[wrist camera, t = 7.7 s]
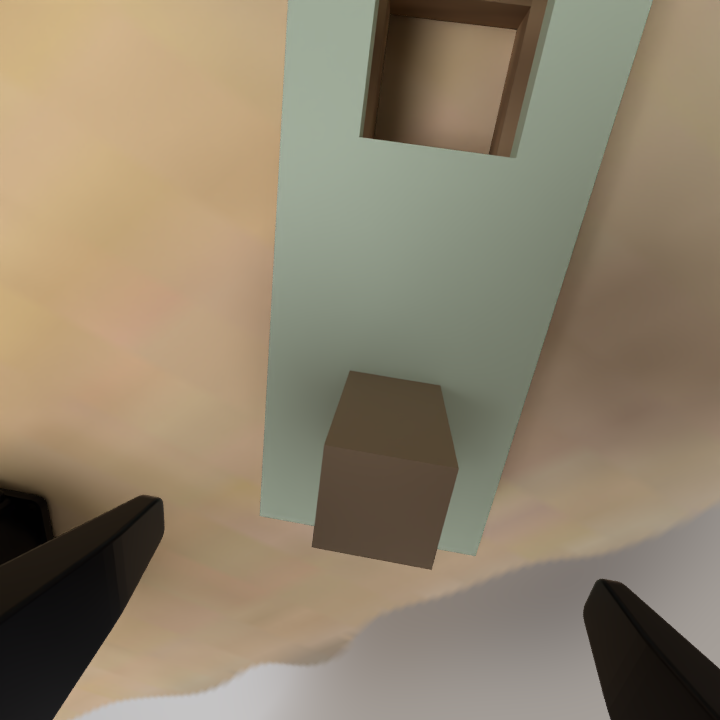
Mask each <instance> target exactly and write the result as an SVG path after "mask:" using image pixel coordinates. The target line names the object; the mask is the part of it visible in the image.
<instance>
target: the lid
mask: <svg viewBox="0 0 720 720" xmlns="http://www.w3.org/2000/svg"><path fill="white" fill-rule="evenodd" d="M652 1H653V0H548V2H547V6H546V10H545V14H544V18H543V22H542V26H541V30H540V35H539V39H538V43H537V47H536V51H535V55H534V59H533V63H532V67H531V72H530V76H529V80H528V84H527V88H526V92H525V96H524V100H523V104H522V109H521V113H520V117H519V121H518V125H517V129H516V133H515V137H514V141H513V146H512V150H511V154H510V157H502V156H495V155H488V154H480V153H473V152H465V151H458V150H451V149H443V148H436V147H429V146H421V145H414V144H406V143H399V142H392V141H384V140H377V139H370V138H363V131H364V122H365V114H366V106H367V98H368V89H369V81H370V73H371V65H372V56H373V48H374V40H375V32H376V23H377V15H378V7H379V0H288V13H287V31H286V49H285V67H284V85H283V103H282V121H281V139H280V158H279V176H278V194H277V212H276V230H275V248H274V266H273V284H272V303H271V321H270V339H269V357H268V375H267V393H266V411H265V430H264V448H263V466H262V484H261V502H260V516H263V517H268V518H273V519H279V520H284V521H290V522H295V523H300V524H306V525H311V526H314V533H313V541H312V547H314V548H319V549H324V550H330V551H335V552H340V553H345V554H351V555H356V556H361V557H367V558H372V559H377V560H383V561H388V562H393V563H398V564H404V565H409V566H414V567H420V568H425V569H430V570H432V566H433V563H434V559H435V555H436V551H437V549H440V550H445V551H451V552H456V553H461V554H467V555H472V556H476V553H477V549H478V546H479V543H480V540H481V537H482V534H483V531H484V528H485V524H486V521H487V518H488V515H489V512H490V509H491V506H492V503H493V499H494V496H495V493H496V490H497V487H498V484H499V481H500V477H501V474H502V471H503V468H504V465H505V462H506V459H507V456H508V452H509V449H510V446H511V443H512V440H513V437H514V434H515V430H516V427H517V424H518V421H519V418H520V415H521V412H522V409H523V405H524V402H525V399H526V396H527V393H528V390H529V387H530V384H531V380H532V377H533V374H534V371H535V368H536V365H537V362H538V358H539V355H540V352H541V349H542V346H543V343H544V340H545V337H546V333H547V330H548V327H549V324H550V321H551V318H552V315H553V311H554V308H555V305H556V302H557V299H558V296H559V293H560V290H561V286H562V283H563V280H564V277H565V274H566V271H567V268H568V265H569V261H570V258H571V255H572V252H573V249H574V246H575V243H576V239H577V236H578V233H579V230H580V227H581V224H582V221H583V218H584V214H585V211H586V208H587V205H588V202H589V199H590V196H591V193H592V189H593V186H594V183H595V180H596V177H597V174H598V171H599V167H600V164H601V161H602V158H603V155H604V152H605V149H606V146H607V142H608V139H609V136H610V133H611V130H612V127H613V124H614V120H615V117H616V114H617V111H618V108H619V105H620V102H621V99H622V95H623V92H624V89H625V86H626V83H627V80H628V77H629V74H630V70H631V67H632V64H633V61H634V58H635V55H636V52H637V48H638V45H639V42H640V39H641V36H642V33H643V30H644V27H645V23H646V20H647V17H648V14H649V11H650V8H651V5H652Z"/></svg>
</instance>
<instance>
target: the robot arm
mask: <svg viewBox="0 0 720 720" xmlns="http://www.w3.org/2000/svg"><path fill="white" fill-rule="evenodd" d="M163 534H164V509H163V501H162V499H161V498H159V497H154V496H148V495H140V496H138V497H136V498H134V499H132V500H130V501H128V502H126V503H124V504H122V505H120V506H118V507H116V508H114V509H112V510H110V511H108V512H106V513H104V514H102V515H100V516H98V517H96V518H94V519H92V520H90V521H88V522H86V523H84V524H82V525H80V526H78V527H76V528H74V529H72V530H70V531H68V532H66V533H64V534H62V535H60V536H58V537H56V538H54V539H53V534H52V528H51V523H50V518H49V512H48V507H47V503H46V501H45V500H44V498H42V497H41V496H38V495H33V494H28V493H22V492H17V491H12V490H7V489H1V488H0V720H53V718H54V717H55V715H56V714H57V712H58V711H59V709H60V708H61V706H62V705H63V703H64V702H65V700H66V698H67V697H68V695H69V694H70V692H71V691H72V689H73V688H74V686H75V685H76V683H77V682H78V680H79V679H80V677H81V676H82V674H83V673H84V671H85V669H86V668H87V666H88V665H89V663H90V662H91V660H92V659H93V657H94V656H95V654H96V653H97V651H98V650H99V648H100V647H101V645H102V644H103V642H104V641H105V639H106V637H107V636H108V634H109V633H110V631H111V630H112V628H113V627H114V625H115V624H116V622H117V620H118V619H119V617H120V616H121V614H122V612H123V610H124V609H125V607H126V605H127V603H128V601H129V600H130V598H131V596H132V594H133V592H134V590H135V588H136V586H137V585H138V583H139V581H140V579H141V577H142V575H143V573H144V571H145V570H146V568H147V566H148V564H149V562H150V560H151V558H152V556H153V555H154V553H155V551H156V549H157V547H158V545H159V543H160V541H161V539H162V537H163ZM583 617H584V622H585V626H586V630H587V634H588V637H589V642H590V645H591V649H592V653H593V657H594V661H595V665H596V669H597V672H598V676H599V680H600V684H601V687H602V692H603V696H604V699H605V702H606V706H607V709H608V712H609V716H610V719H611V720H720V669H719V668H718V667H717V666H716V665H715V664H714V663H713V662H711V661H710V660H709V659H708V658H707V657H706V656H705V655H703V654H702V653H701V652H700V651H699V650H698V649H697V648H695V647H694V646H693V645H692V644H691V643H690V642H689V641H688V640H687V639H685V638H684V637H683V636H682V635H681V634H680V633H678V632H677V631H676V630H675V629H674V628H673V627H672V626H671V625H670V624H668V623H667V622H666V621H665V620H664V619H663V618H662V617H660V616H659V615H658V614H657V613H656V612H655V611H654V610H652V609H651V608H650V607H649V606H648V605H647V604H646V603H645V602H643V601H642V600H641V599H640V598H639V597H638V596H637V595H636V594H634V593H633V592H632V591H631V590H630V589H629V588H628V587H627V586H625V585H624V584H622V583H620V582H618V581H612V580H607V579H599V580H597V581H596V582H595V584H594V586H593V588H592V591H591V593H590V595H589V597H588V599H587V601H586V603H585V606H584V610H583Z"/></svg>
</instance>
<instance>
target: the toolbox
mask: <svg viewBox="0 0 720 720" xmlns="http://www.w3.org/2000/svg"><path fill="white" fill-rule="evenodd" d="M547 2H548V0H379V7H378V15H377V23H376V32H375V40H374V48H373V56H372V65H371V73H370V81H369V89H368V98H367V106H366V114H365V122H364V131H363V138H370V139H374V134H375V127H376V119H377V111H378V104H379V96H380V88H381V81H382V73H383V65H384V58H385V50H386V42H387V35H388V27H389V19H390V14H393V15H401V16H410V17H418V18H426V19H435V20H443V21H452V22H460V23H468V24H477V25H485V26H493V27H502V28H510V29H517V32H516V37H515V41H514V46H513V50H512V54H511V59H510V63H509V68H508V72H507V77H506V81H505V85H504V90H503V94H502V99H501V103H500V108H499V112H498V116H497V121H496V125H495V130H494V134H493V139H492V143H491V147H490V152H489V155H495V156H502V157H510V154H511V150H512V146H513V141H514V137H515V133H516V129H517V125H518V121H519V117H520V113H521V109H522V104H523V100H524V96H525V92H526V88H527V84H528V80H529V76H530V72H531V67H532V63H533V59H534V55H535V51H536V47H537V43H538V39H539V35H540V30H541V26H542V22H543V18H544V14H545V10H546V6H547Z"/></svg>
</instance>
